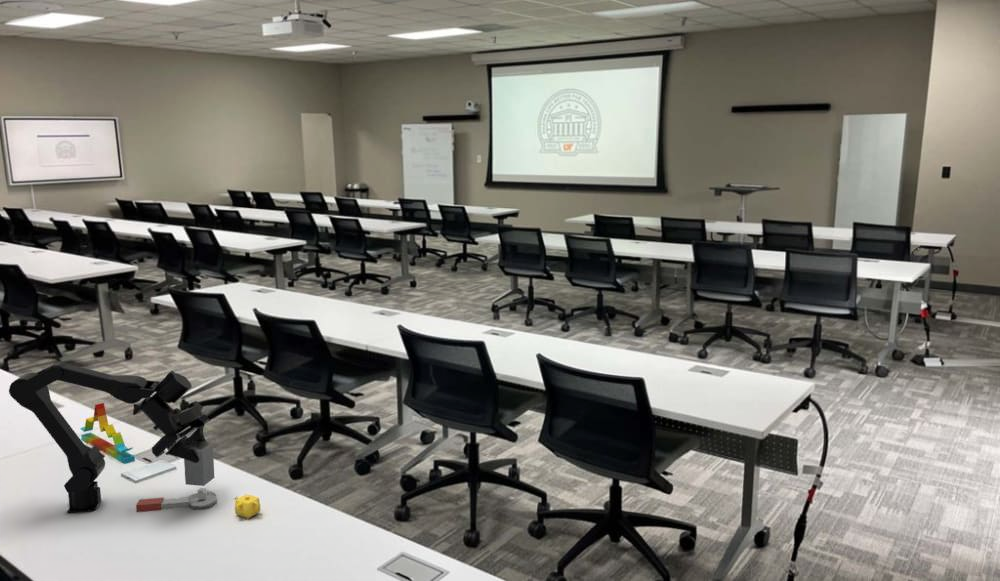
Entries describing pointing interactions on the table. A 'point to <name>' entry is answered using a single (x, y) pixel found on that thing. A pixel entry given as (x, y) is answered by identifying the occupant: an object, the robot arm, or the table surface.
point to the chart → (113, 450)
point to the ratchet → (179, 502)
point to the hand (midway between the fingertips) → (203, 457)
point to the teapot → (247, 506)
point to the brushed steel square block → (200, 464)
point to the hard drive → (148, 471)
